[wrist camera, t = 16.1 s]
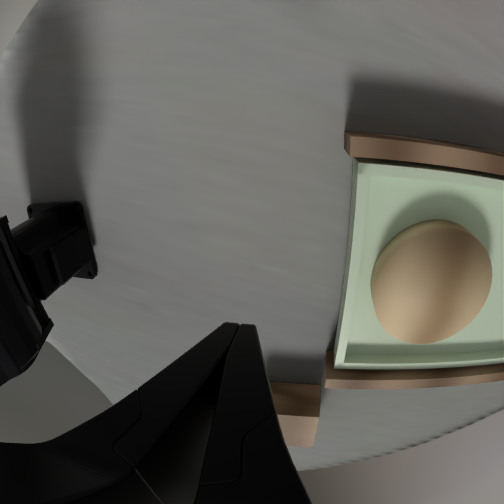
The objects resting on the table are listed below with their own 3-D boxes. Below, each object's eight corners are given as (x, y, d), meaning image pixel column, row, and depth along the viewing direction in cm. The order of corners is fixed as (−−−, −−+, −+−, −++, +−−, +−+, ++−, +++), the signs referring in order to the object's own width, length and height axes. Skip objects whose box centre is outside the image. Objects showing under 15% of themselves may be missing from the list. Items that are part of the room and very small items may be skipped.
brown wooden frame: (325, 359, 24) (324, 388, 21) (344, 131, 17) (350, 136, 14) (510, 354, 21) (522, 377, 18) (569, 170, 14) (594, 182, 11)
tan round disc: (365, 332, 21) (368, 347, 19) (373, 220, 17) (378, 230, 16) (468, 324, 19) (475, 338, 18) (491, 219, 16) (503, 228, 14)
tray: (333, 349, 23) (331, 482, 13) (353, 156, 17) (404, 229, 7) (506, 346, 20) (551, 445, 11) (558, 187, 14) (660, 257, 4)
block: (262, 413, 28) (256, 442, 25) (262, 380, 26) (255, 412, 23) (314, 417, 28) (312, 447, 24) (320, 384, 25) (319, 417, 22)
